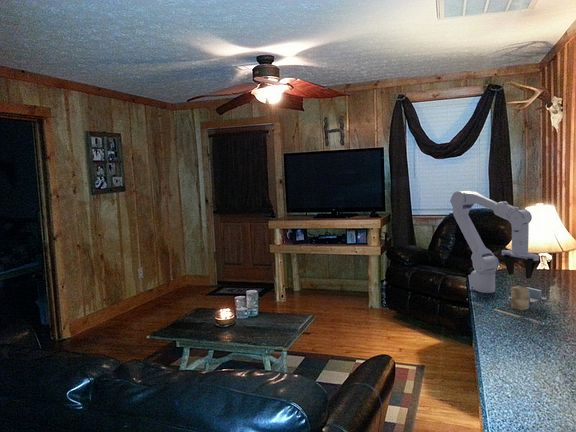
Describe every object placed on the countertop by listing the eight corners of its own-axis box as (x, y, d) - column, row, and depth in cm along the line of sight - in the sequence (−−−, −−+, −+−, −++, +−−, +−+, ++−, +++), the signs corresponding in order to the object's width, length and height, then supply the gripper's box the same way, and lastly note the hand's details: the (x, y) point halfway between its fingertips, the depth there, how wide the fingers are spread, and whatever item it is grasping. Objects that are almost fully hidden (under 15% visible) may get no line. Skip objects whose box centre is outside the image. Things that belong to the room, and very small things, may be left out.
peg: (511, 309, 164) (511, 287, 163) (518, 307, 166) (518, 285, 165) (521, 311, 160) (521, 289, 160) (528, 310, 162) (528, 288, 161)
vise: (507, 299, 177) (507, 289, 177) (526, 295, 182) (526, 285, 182) (528, 305, 169) (528, 294, 169) (547, 300, 174) (547, 290, 173)
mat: (494, 310, 164) (494, 309, 164) (519, 304, 171) (519, 303, 171) (518, 317, 155) (518, 316, 155) (545, 311, 162) (545, 310, 162)
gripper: (496, 240, 179) (496, 274, 180) (530, 244, 166) (529, 281, 167) (508, 238, 182) (508, 271, 183) (543, 242, 169) (542, 278, 170)
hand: (519, 276), depth 175 cm, fingers open, 7 cm apart
